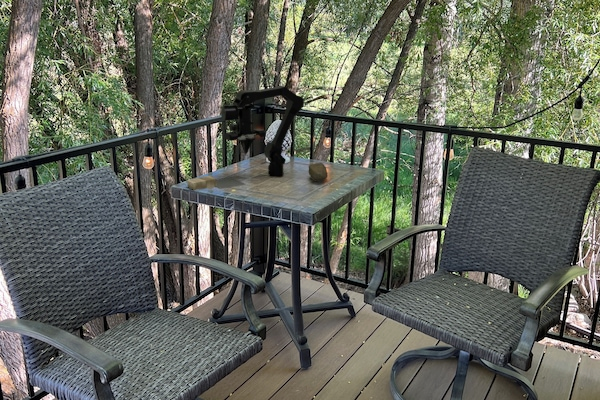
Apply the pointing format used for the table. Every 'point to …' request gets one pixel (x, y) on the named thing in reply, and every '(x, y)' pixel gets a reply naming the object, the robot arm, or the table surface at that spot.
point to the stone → (318, 171)
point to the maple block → (202, 183)
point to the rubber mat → (228, 183)
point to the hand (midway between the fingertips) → (245, 153)
